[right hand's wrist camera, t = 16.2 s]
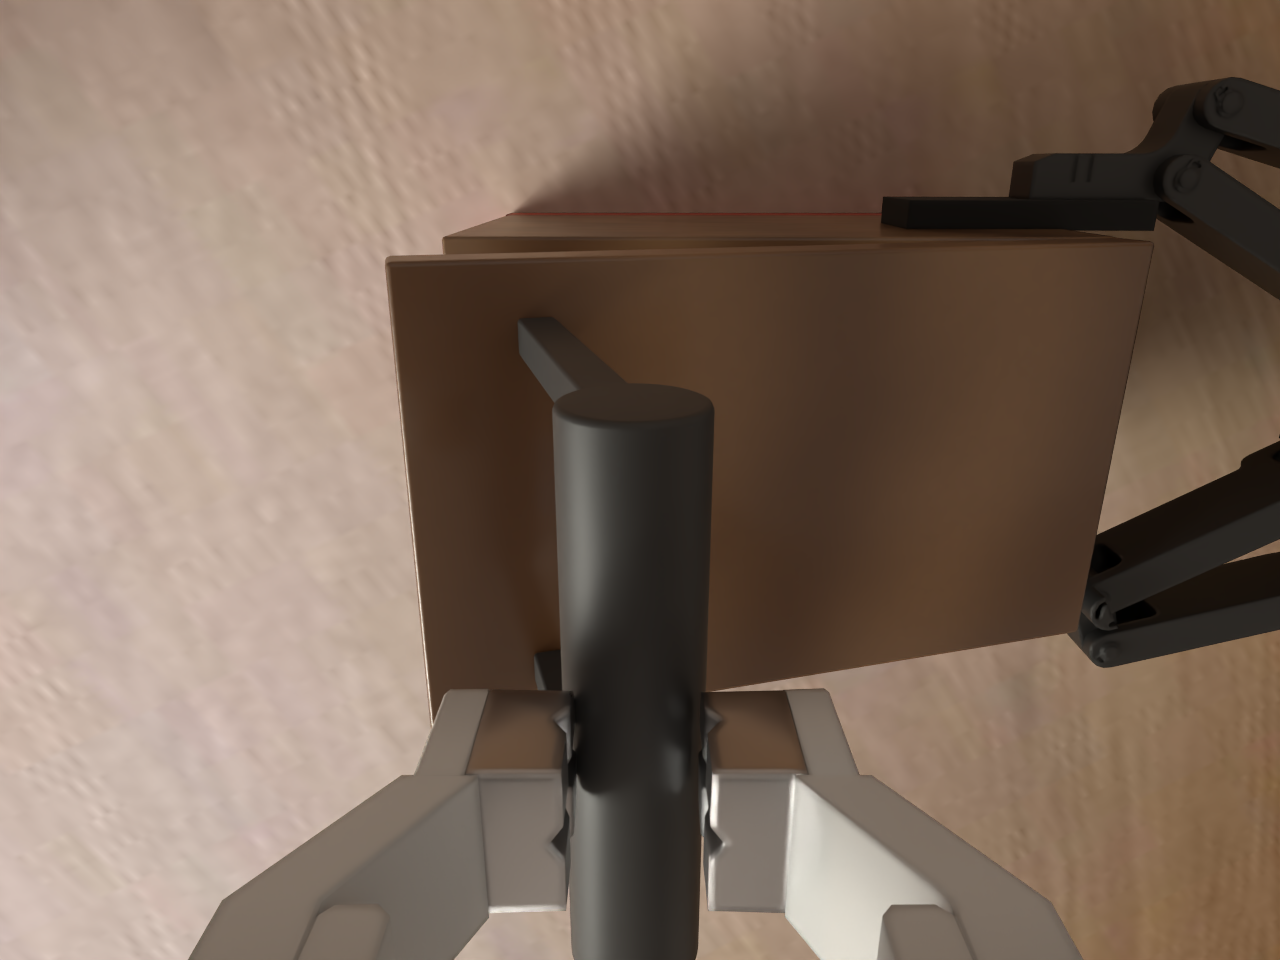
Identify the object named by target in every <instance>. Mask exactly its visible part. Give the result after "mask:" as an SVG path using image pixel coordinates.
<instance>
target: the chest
mask: <svg viewBox="0 0 1280 960" xmlns="http://www.w3.org/2000/svg"><path fill="white" fill-rule="evenodd" d="M881 215H882V213H510V214H507V215H506V216H505V217H502V218H499V219H496V220H493V221H490V222H487V223H484V224H481V225H478V226H475V227H472V228H469V229H466V230H463V231H460V232H457V233H454V234H451V235H448V236H445V237H443V239H442V244H443V255H449V254H489V253H529V252H568V251H608V250H648V249H688V248H728V247H768V246H808V245H848V244H888V243H928V242H968V241H1008V240H1048V239H1088V238H1116V237H1112V236H1105V235H1098V234H1091V233H1085V232H1078V231H1071V230H1065V229H904V228H900V227H896V226H892V225H887V224H883V223H881Z"/></svg>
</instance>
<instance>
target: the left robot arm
mask: <svg viewBox="0 0 1280 960" xmlns="http://www.w3.org/2000/svg"><path fill="white" fill-rule="evenodd" d="M1152 114H1153V121H1154V123H1153V125H1152V127H1151V128H1150V130H1149V132H1148V134H1147V136H1146V137H1145V139H1144V140H1143V141H1142V142H1141V143H1140V144H1139V145H1138V146H1137V147H1136V148H1134V149H1133V150H1131V151H1129V152H1126V153H1124V154H1059V153H1055V154H1032V155H1030V156H1027V157H1025V158H1022V159H1020V160H1017V161H1015V162H1014V164H1013V171H1012V178H1011V185H1010V192H1009V197H883V204H882V215H881V223H883V224H887V225H892V226H896V227H900V228H904V229H1065V230H1087V231H1154V226H1155V221H1156V218H1157V219H1158V220H1160V221H1161V222H1163V223H1164V224H1166V225H1167V226H1169V227H1170V228H1172V229H1173V230H1175V231H1176V232H1178V233H1179V234H1181V235H1182V236H1184V237H1185V238H1187V239H1188V240H1190V241H1191V242H1193V243H1194V244H1196V245H1197V246H1199V247H1200V248H1202V249H1203V250H1205V251H1206V252H1208V253H1209V254H1211V255H1212V256H1214V257H1215V258H1217V259H1218V260H1220V261H1221V262H1223V263H1224V264H1226V265H1228V266H1229V267H1231V268H1232V269H1234V270H1235V271H1237V272H1238V273H1240V274H1241V275H1243V276H1244V277H1246V278H1247V279H1249V280H1250V281H1252V282H1253V283H1255V284H1256V285H1258V286H1259V287H1261V288H1262V289H1264V290H1265V291H1267V292H1268V293H1270V294H1271V295H1273V296H1274V297H1276V298H1277V299H1279V300H1280V210H1279V209H1278V208H1276V207H1275V206H1274V205H1272V204H1271V203H1269V202H1268V201H1266V200H1265V199H1263V198H1262V197H1260V196H1259V195H1258V194H1256V193H1255V192H1253V191H1252V190H1250V189H1249V188H1247V187H1246V186H1244V185H1243V184H1241V183H1240V182H1239V181H1237V180H1236V179H1234V178H1233V177H1231V176H1230V175H1228V174H1227V173H1225V172H1224V171H1222V170H1221V169H1220V168H1218V167H1217V166H1215V165H1214V164H1212V163H1211V162H1210V160H1211V158H1212V156H1213V155H1214V153H1215V151H1216V149H1220V150H1223V151H1227V152H1230V153H1233V154H1236V155H1239V156H1242V157H1245V158H1248V159H1252V160H1255V161H1258V162H1261V163H1264V164H1267V165H1270V166H1273V167H1277V168H1280V91H1279V90H1276V89H1273V88H1270V87H1267V86H1264V85H1261V84H1258V83H1255V82H1252V81H1249V80H1246V79H1243V78H1235V77H1230V78H1223V79H1217V80H1210V81H1204V82H1197V83H1191V84H1184V85H1178V86H1174V87H1171V88H1168V89H1167V90H1165V91H1164V92H1163V93H1161V94H1160V95H1159V97H1158V99H1157V100H1156V102H1155V103H1154V107H1153V111H1152ZM1279 438H1280V436H1279ZM1279 539H1280V441H1278V442H1276V443H1274V444H1272V445H1270V446H1267V447H1265V448H1263V449H1261V450H1259V451H1257V452H1254V453H1252V454H1250V455H1248V456H1247V457H1245V458H1244V459H1243V460H1242V461H1241V467H1240V468H1239V469H1238V470H1236V471H1234V472H1232V473H1230V474H1228V475H1226V476H1223V477H1221V478H1219V479H1217V480H1215V481H1213V482H1210V483H1208V484H1206V485H1204V486H1202V487H1200V488H1198V489H1195V490H1193V491H1191V492H1189V493H1187V494H1185V495H1182V496H1180V497H1178V498H1176V499H1174V500H1172V501H1169V502H1167V503H1165V504H1163V505H1161V506H1159V507H1156V508H1154V509H1152V510H1150V511H1148V512H1146V513H1143V514H1141V515H1139V516H1137V517H1135V518H1133V519H1130V520H1128V521H1126V522H1124V523H1122V524H1120V525H1117V526H1115V527H1113V528H1111V529H1109V530H1107V531H1104V532H1102V533H1100V534H1098V535H1096V539H1095V544H1094V549H1093V554H1092V559H1091V564H1090V569H1089V574H1088V579H1087V584H1086V589H1085V595H1084V600H1083V605H1082V610H1081V615H1080V620H1079V625H1078V629H1077V631H1075V632H1071V633H1067V634H1068V635H1069V636H1070V637H1071V639H1072V640H1073V641H1074V642H1075V643H1076V644H1077V645H1078V646H1079V647H1080V649H1081V650H1082V651H1083V652H1084V653H1085V654H1086V655H1087V656H1088V658H1089V659H1090V660H1091V661H1092V662H1093V663H1094V664H1095V665H1097V666H1099V667H1103V668H1107V667H1114V666H1119V665H1123V664H1128V663H1132V662H1137V661H1141V660H1146V659H1150V658H1155V657H1159V656H1164V655H1168V654H1173V653H1177V652H1182V651H1186V650H1190V649H1195V648H1199V647H1204V646H1208V645H1213V644H1217V643H1222V642H1226V641H1231V640H1235V639H1240V638H1244V637H1249V636H1253V635H1258V634H1262V633H1267V632H1271V631H1276V630H1280V552H1276V553H1271V554H1265V555H1261V556H1257V557H1252V558H1248V559H1244V560H1239V561H1235V562H1231V563H1227V562H1229V561H1231V560H1233V559H1236V558H1238V557H1240V556H1242V555H1245V554H1247V553H1249V552H1251V551H1254V550H1256V549H1258V548H1260V547H1263V546H1265V545H1267V544H1269V543H1272V542H1274V541H1276V540H1279ZM1224 563H1227V564H1224Z"/></svg>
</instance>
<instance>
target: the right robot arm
mask: <svg viewBox="0 0 1280 960" xmlns="http://www.w3.org/2000/svg"><path fill="white" fill-rule="evenodd" d="M699 724H700V734H701V745H702V749H701V751H700V752H699V753H698V804H699V819H700V831H701V835H702V836H703V837H704V860H703V865H704V875H705V884H706V894H707V904H708V911H735V912H771V913H785V917H786V918H787V920H788V921H789V922H790V923H791V925H792V926H793V927H794V928H795V929H796V931H797V932H798V933H799V934H800V935H801V937H802V938H803V939H804V940H805V942H806V943H807V944H808V945H809V946H810V948H811V949H812V950H813V951H814V952H815V954H816V955H817V956H818V957H819V958H820V960H1083V958H1082V956H1081V955H1080V953H1079V951H1078V949H1077V948H1076V946H1075V944H1074V942H1073V940H1072V939H1071V937H1070V935H1069V933H1068V931H1067V930H1066V928H1065V926H1064V924H1063V923H1062V921H1061V919H1060V917H1059V915H1058V914H1057V912H1056V910H1055V908H1054V906H1053V905H1052V903H1051V902H1050V901H1049V900H1047V899H1046V898H1045V897H1043V896H1042V895H1040V894H1039V893H1038V892H1036V891H1035V890H1033V889H1032V888H1031V887H1029V886H1028V885H1026V884H1025V883H1023V882H1022V881H1021V880H1019V879H1018V878H1016V877H1015V876H1014V875H1012V874H1011V873H1009V872H1008V871H1007V870H1005V869H1004V868H1002V867H1001V866H999V865H998V864H997V863H995V862H994V861H992V860H991V859H990V858H988V857H987V856H985V855H984V854H982V853H981V852H980V851H978V850H977V849H975V848H974V847H973V846H971V845H970V844H968V843H967V842H966V841H964V840H963V839H961V838H960V837H958V836H957V835H956V834H954V833H953V832H951V831H950V830H949V829H947V828H946V827H944V826H943V825H941V824H940V823H939V822H937V821H936V820H934V819H933V818H932V817H930V816H929V815H927V814H926V813H925V812H923V811H922V810H920V809H919V808H917V807H916V806H915V805H913V804H912V803H910V802H909V801H908V800H906V799H905V798H903V797H902V796H901V795H899V794H898V793H896V792H895V791H893V790H892V789H891V788H889V787H888V786H886V785H885V784H884V783H882V782H881V781H879V780H878V779H876V778H875V777H874V776H872V775H859V772H858V770H857V767H856V764H855V761H854V759H853V756H852V753H851V751H850V748H849V745H848V742H847V740H846V737H845V734H844V732H843V729H842V726H841V724H840V721H839V718H838V715H837V713H836V710H835V707H834V705H833V702H832V699H831V697H830V694H829V692H828V691H826V690H825V689H824V688H823V689H795V690H783V691H735V692H701V698H700V717H699ZM574 730H575V706H574V694H573V691H551V690H503V689H492V690H491V691H490V690H489V689H450V690H449V691H448V692H447V693H446V694H445V695H444V696H443V699H442V702H441V704H440V707H439V710H438V712H437V715H436V718H435V720H434V723H433V726H432V728H431V731H430V734H429V736H428V739H427V742H426V744H425V747H424V750H423V752H422V755H421V757H420V760H419V763H418V765H417V768H416V771H415V773H414V775H401V776H400V777H398V778H397V779H396V780H394V781H393V782H391V783H390V784H388V785H387V786H386V787H384V788H383V789H381V790H380V791H378V792H377V793H375V794H374V795H373V796H371V797H370V798H368V799H367V800H365V801H364V802H363V803H361V804H360V805H358V806H357V807H355V808H354V809H353V810H351V811H350V812H348V813H347V814H345V815H344V816H343V817H341V818H340V819H338V820H337V821H335V822H334V823H333V824H331V825H330V826H328V827H327V828H325V829H324V830H323V831H321V832H320V833H318V834H317V835H315V836H314V837H312V838H311V839H310V840H308V841H307V842H305V843H304V844H302V845H301V846H300V847H298V848H297V849H295V850H294V851H292V852H291V853H290V854H288V855H287V856H285V857H284V858H282V859H281V860H280V861H278V862H277V863H275V864H274V865H272V866H271V867H270V868H268V869H267V870H265V871H264V872H262V873H261V874H259V875H258V876H257V877H255V878H254V879H252V880H251V881H249V882H248V883H247V884H245V885H244V886H242V887H241V888H239V889H238V890H237V891H235V892H234V893H232V894H231V895H229V896H228V897H227V898H225V899H224V900H222V902H221V903H220V905H219V907H218V909H217V910H216V912H215V914H214V916H213V917H212V919H211V921H210V923H209V924H208V926H207V928H206V929H205V931H204V933H203V935H202V936H201V938H200V940H199V942H198V943H197V945H196V947H195V949H194V950H193V952H192V954H191V955H190V957H189V959H188V960H454V959H455V957H456V956H457V955H458V954H459V953H460V951H461V950H462V949H463V948H464V947H465V945H466V944H467V943H468V942H469V941H470V939H471V938H472V937H473V936H474V935H475V933H476V932H477V931H478V930H479V929H480V927H481V926H482V925H483V924H484V923H485V922H486V920H487V919H488V918H489V913H503V912H537V911H566V905H567V895H568V886H569V877H570V867H571V850H570V838H571V837H572V836H573V835H574V826H575V814H576V793H577V767H576V753H575V751H574V750H573V739H574Z"/></svg>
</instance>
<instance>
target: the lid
mask: <svg viewBox="0 0 1280 960" xmlns="http://www.w3.org/2000/svg"><path fill="white" fill-rule="evenodd" d="M1153 247H1154V244H1153V243H1152V242H1150V241H1142V240H1131V239H1121V238H1088V239H1048V240H1008V241H968V242H928V243H888V244H848V245H808V246H768V247H728V248H688V249H648V250H608V251H568V252H529V253H489V254H449V255H409V256H389V257H387V258H386V261H385V270H386V280H387V290H388V301H389V311H390V321H391V331H392V341H393V351H394V361H395V371H396V381H397V391H398V401H399V411H400V421H401V432H402V442H403V452H404V462H405V472H406V482H407V492H408V502H409V512H410V522H411V532H412V542H413V552H414V563H415V573H416V583H417V593H418V603H419V613H420V623H421V633H422V643H423V653H424V663H425V673H426V683H427V693H428V704H429V714H430V724H431V728H432V726H433V723H434V720H435V718H436V715H437V712H438V710H439V707H440V704H441V702H442V699H443V696H444V695H445V694H446V693H447V692H448V691H449V690H450V689H489V690H490V691H491V690H492V689H503V690H551V691H573V694H574V706H575V730H574V739H573V750H574V751H575V753H576V767H577V793H576V814H575V826H574V835H573V836H572V837H571V838H570V850H571V867H570V877H569V889H570V917H571V945H572V953H573V957H574V960H695V959H696V955H697V950H698V932H699V900H700V868H701V831H700V819H699V804H698V753H699V752H700V751H701V749H702V745H701V734H700V724H699V717H700V698H701V692H711V691H717V690H723V689H729V688H735V687H741V686H747V685H754V684H760V683H766V682H772V681H778V680H784V679H790V678H796V677H802V676H808V675H815V674H821V673H827V672H833V671H839V670H845V669H851V668H857V667H863V666H869V665H876V664H882V663H888V662H894V661H900V660H906V659H912V658H918V657H924V656H930V655H937V654H943V653H949V652H955V651H961V650H967V649H973V648H979V647H985V646H991V645H998V644H1004V643H1010V642H1016V641H1022V640H1028V639H1034V638H1040V637H1046V636H1052V635H1059V634H1065V633H1071V632H1075V631H1077V629H1078V625H1079V620H1080V615H1081V610H1082V605H1083V600H1084V595H1085V589H1086V584H1087V579H1088V574H1089V569H1090V564H1091V559H1092V554H1093V549H1094V544H1095V539H1096V534H1097V529H1098V524H1099V519H1100V514H1101V509H1102V504H1103V499H1104V494H1105V489H1106V484H1107V479H1108V474H1109V469H1110V464H1111V459H1112V454H1113V449H1114V444H1115V439H1116V434H1117V429H1118V423H1119V418H1120V413H1121V408H1122V403H1123V398H1124V393H1125V388H1126V383H1127V378H1128V373H1129V368H1130V363H1131V358H1132V353H1133V348H1134V343H1135V338H1136V333H1137V328H1138V323H1139V318H1140V313H1141V308H1142V303H1143V298H1144V293H1145V288H1146V283H1147V278H1148V273H1149V268H1150V263H1151V257H1152V252H1153Z"/></svg>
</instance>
